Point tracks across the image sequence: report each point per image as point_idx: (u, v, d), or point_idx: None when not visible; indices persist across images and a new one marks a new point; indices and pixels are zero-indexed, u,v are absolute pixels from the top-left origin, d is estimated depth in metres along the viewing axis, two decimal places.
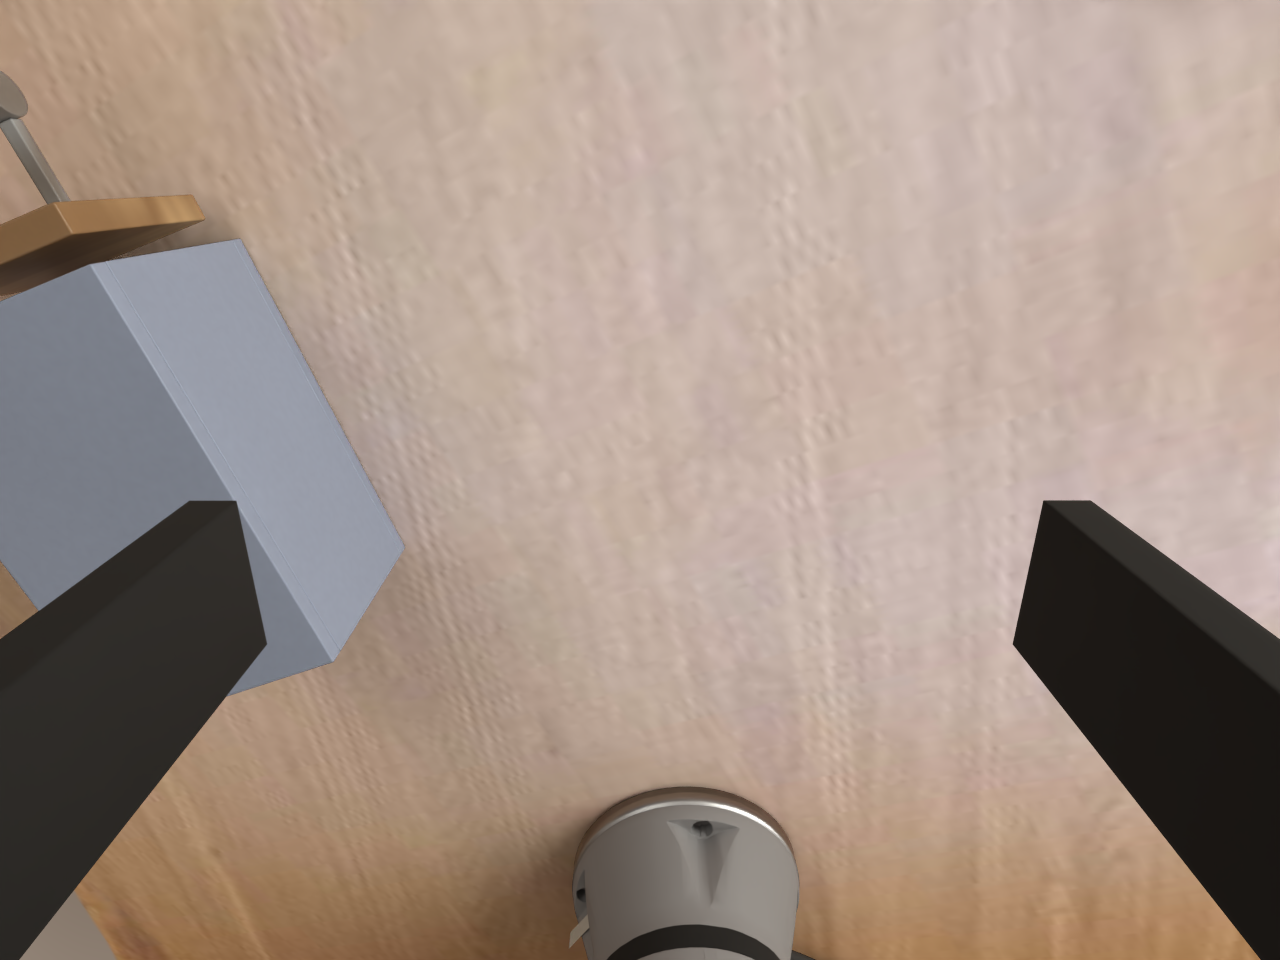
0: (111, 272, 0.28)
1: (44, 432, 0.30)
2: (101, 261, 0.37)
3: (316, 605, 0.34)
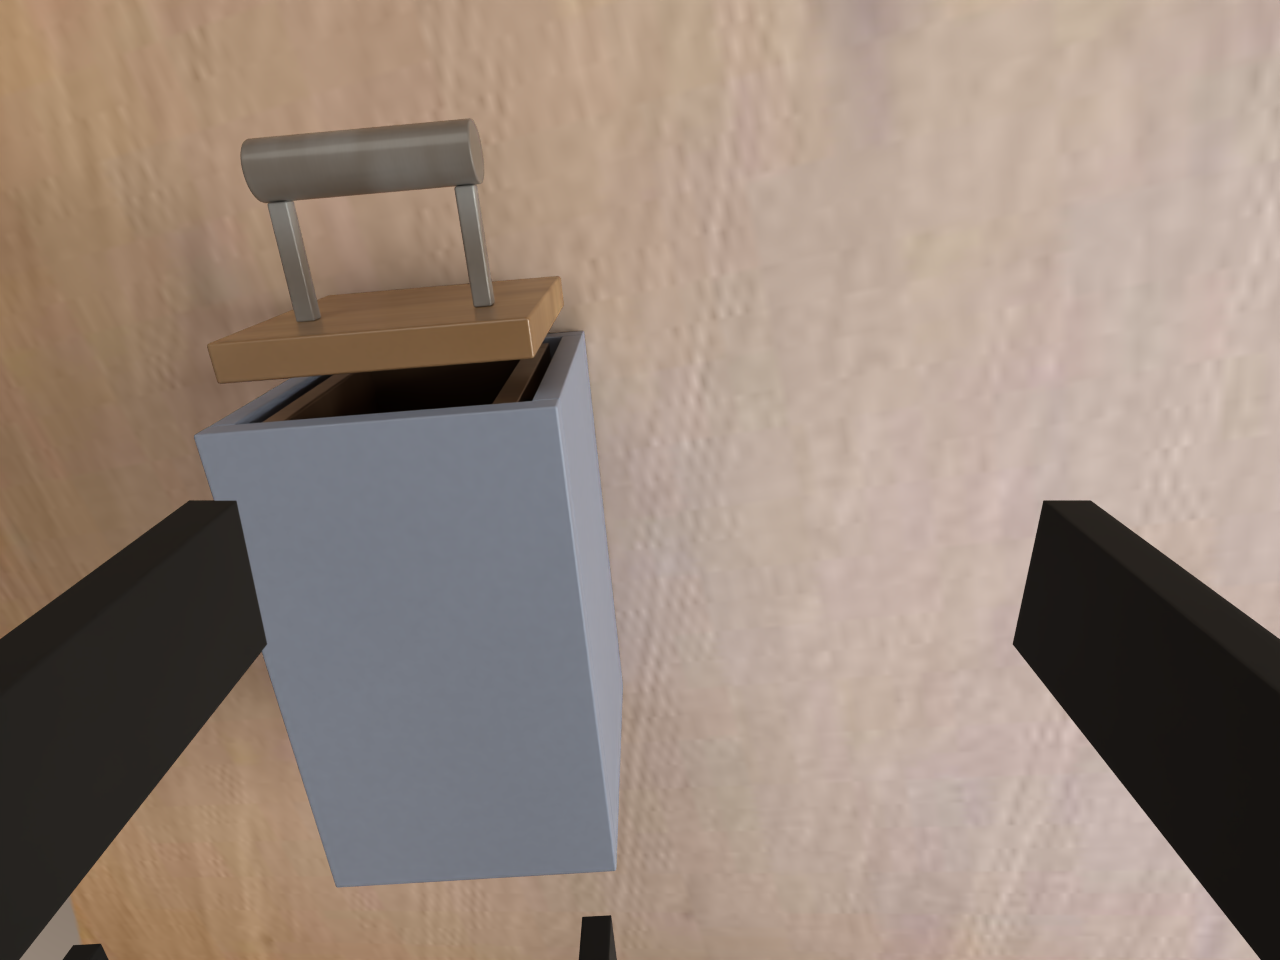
0: (561, 412, 0.23)
1: (401, 567, 0.24)
2: None
3: (611, 800, 0.29)
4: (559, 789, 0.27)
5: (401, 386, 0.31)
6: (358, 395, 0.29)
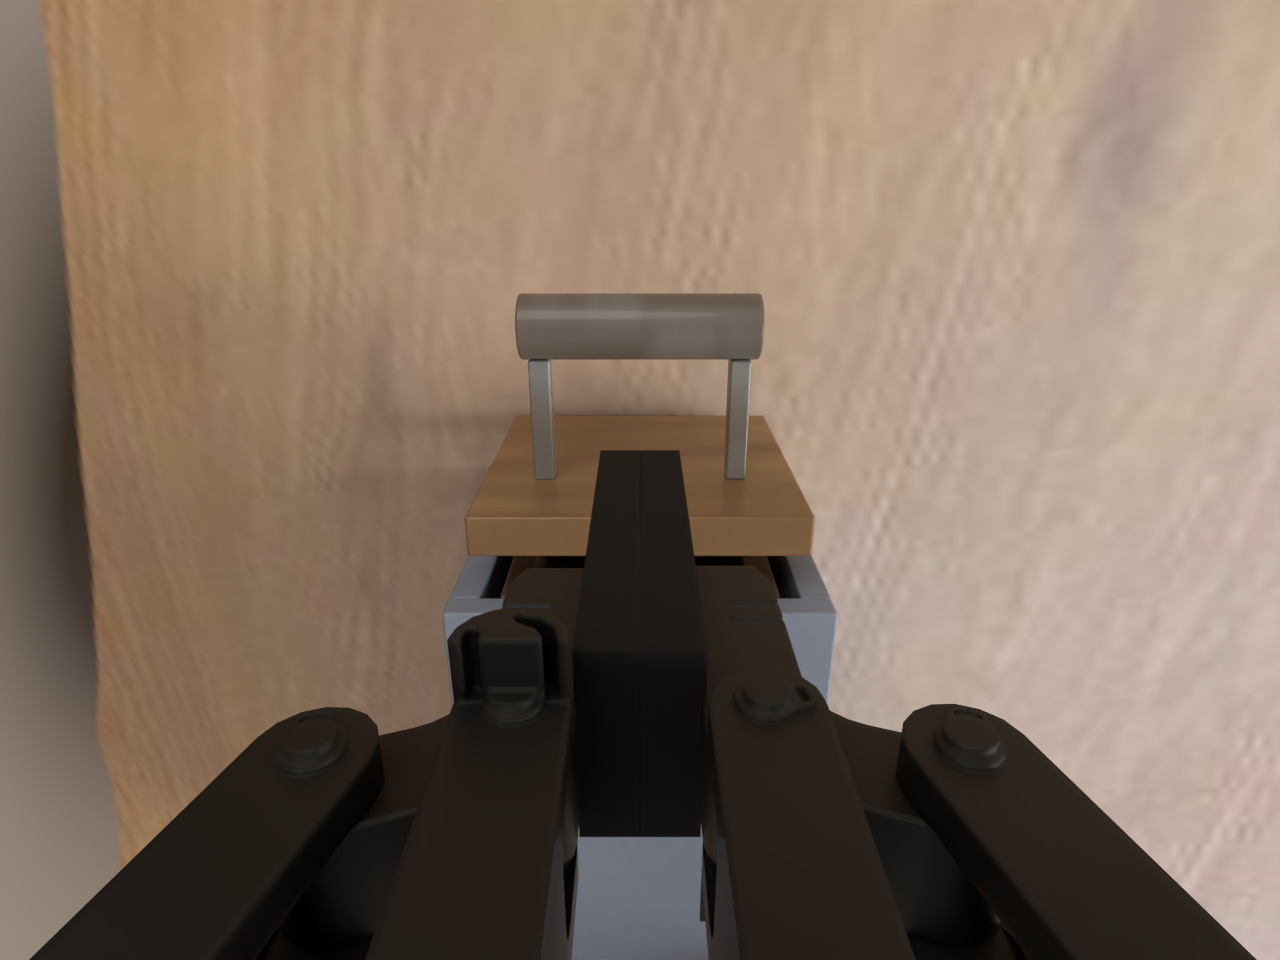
0: None
1: None
2: None
3: None
4: None
5: None
6: None
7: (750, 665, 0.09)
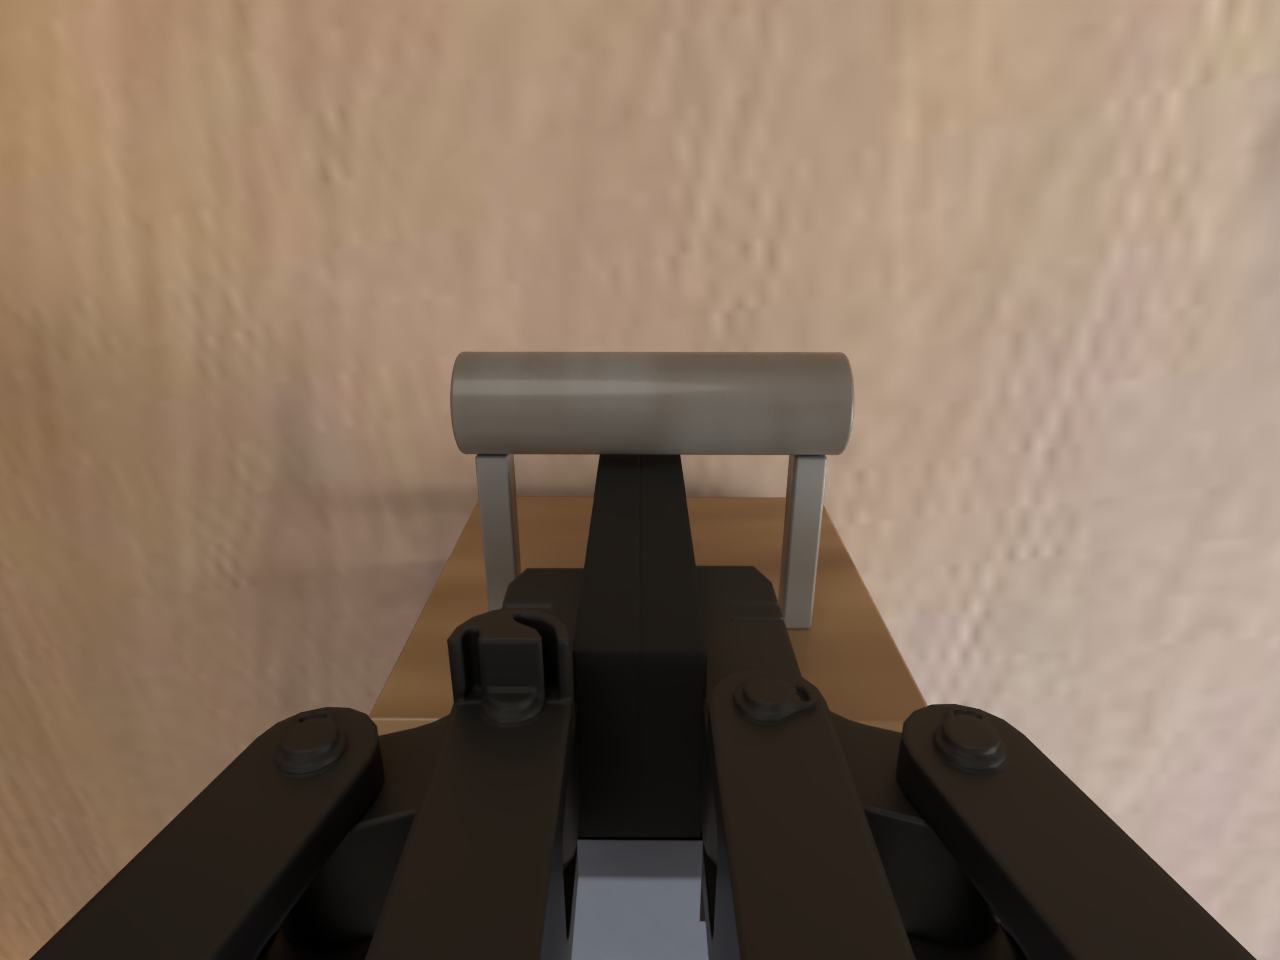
0: None
1: None
2: None
3: None
4: None
5: None
6: None
7: (750, 666, 0.09)
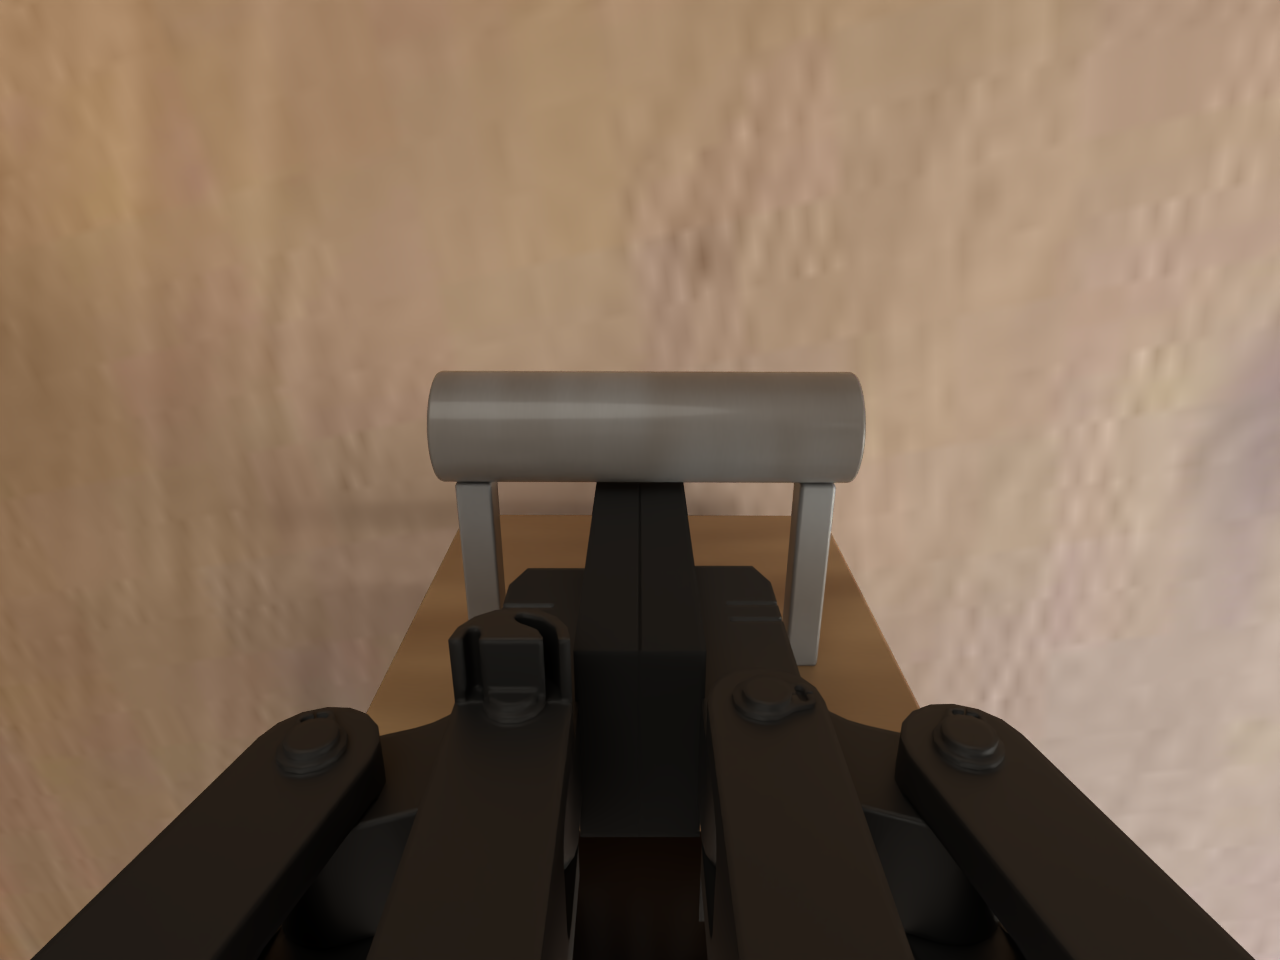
0: None
1: None
2: None
3: None
4: None
5: None
6: None
7: (750, 666, 0.09)
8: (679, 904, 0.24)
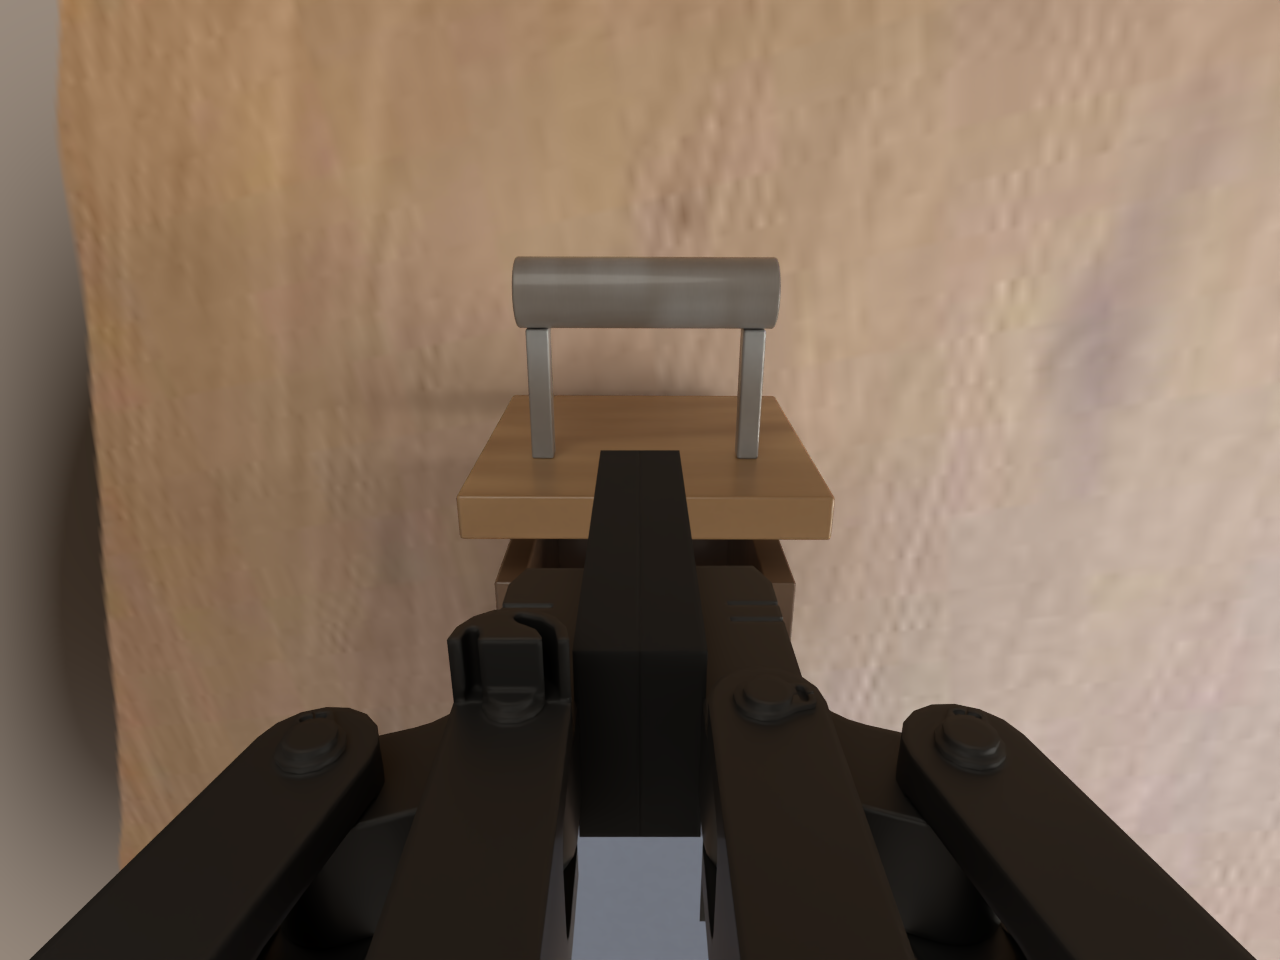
0: None
1: (639, 952, 0.24)
2: None
3: None
4: None
5: None
6: None
7: (750, 666, 0.09)
8: None
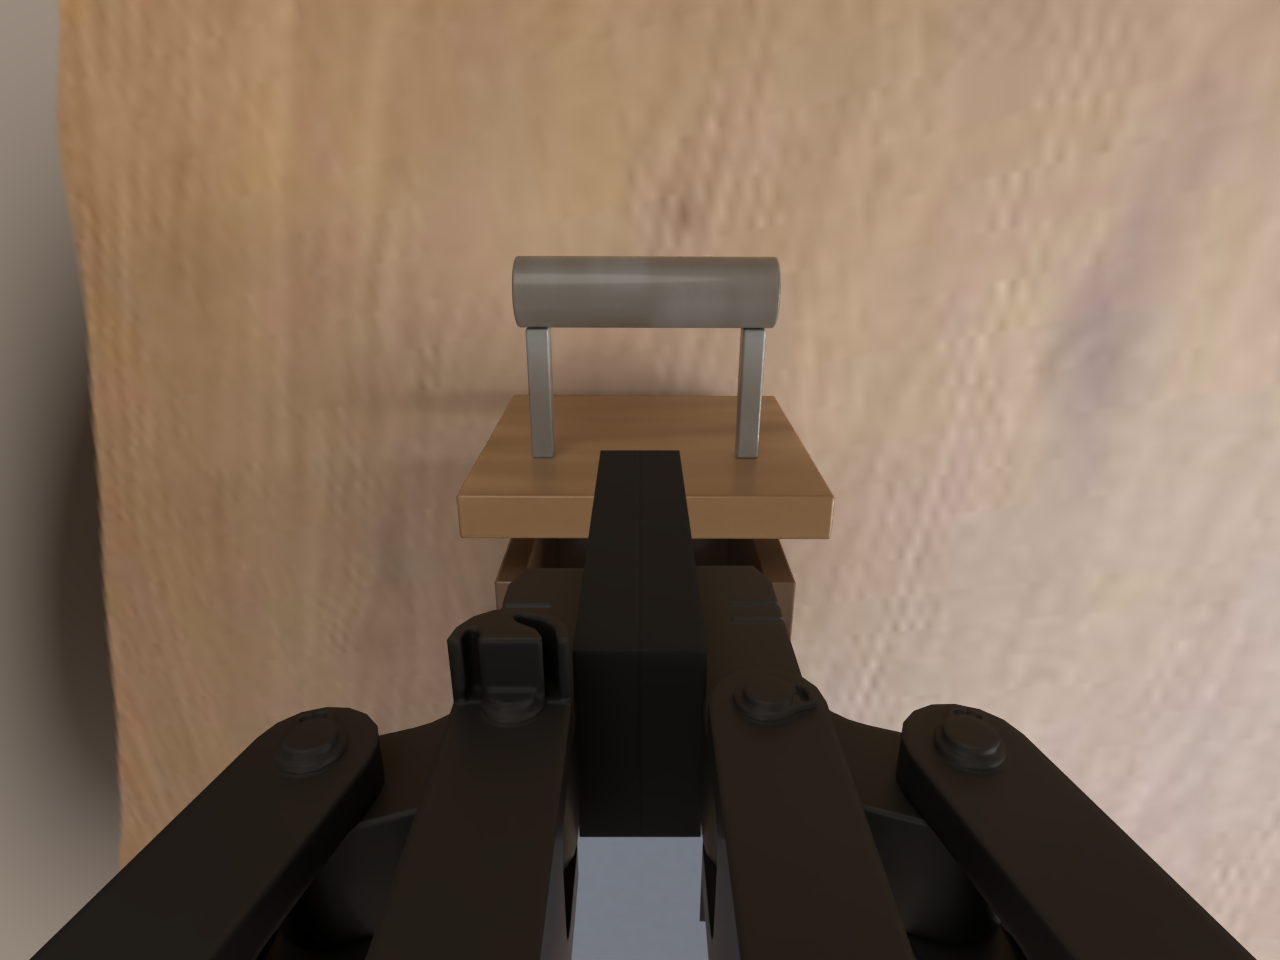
0: None
1: (639, 952, 0.24)
2: None
3: None
4: None
5: None
6: None
7: (750, 666, 0.09)
8: None
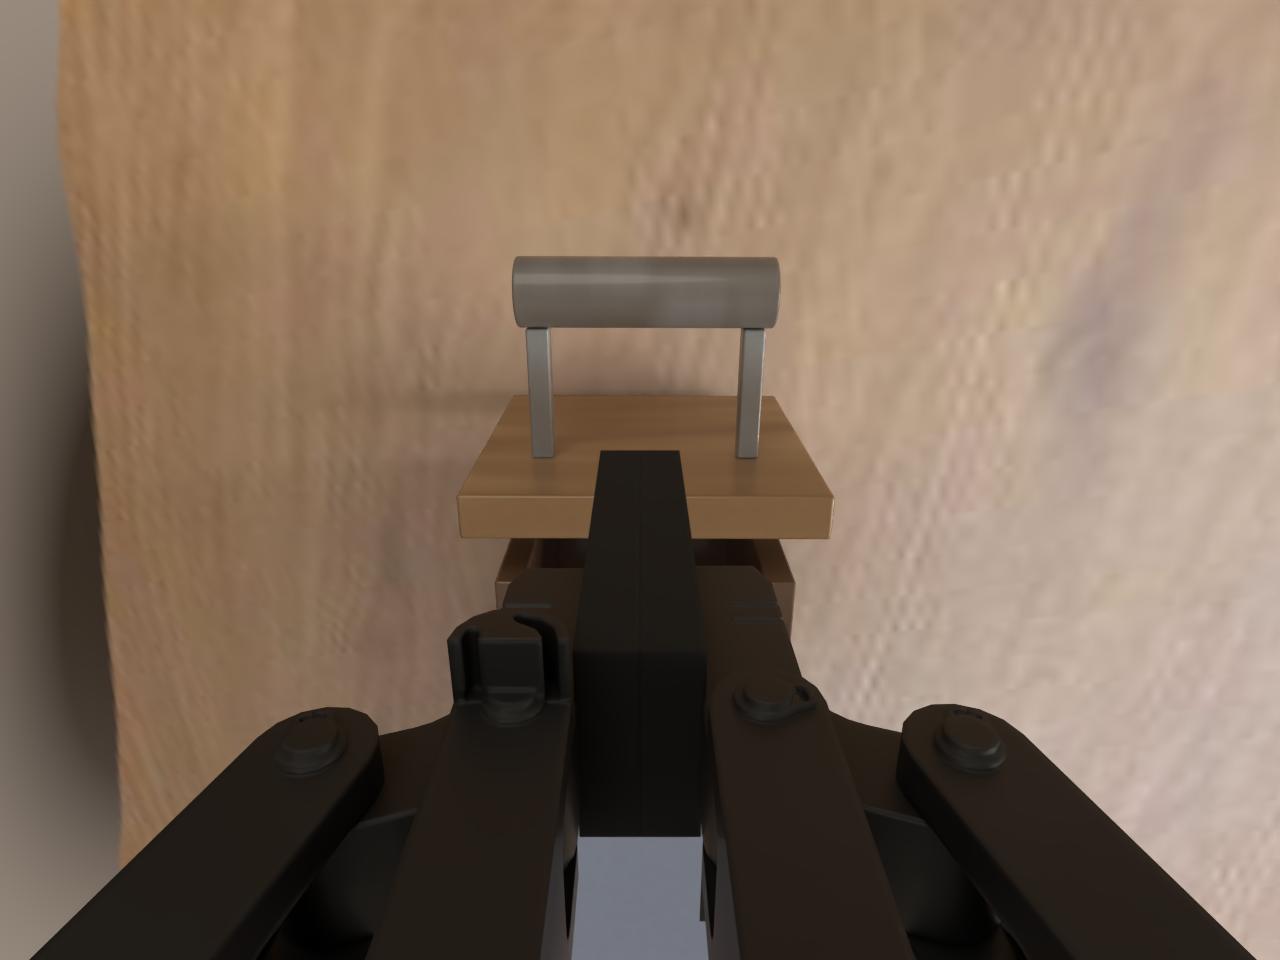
0: None
1: (639, 952, 0.24)
2: None
3: None
4: None
5: None
6: None
7: (750, 666, 0.09)
8: None
